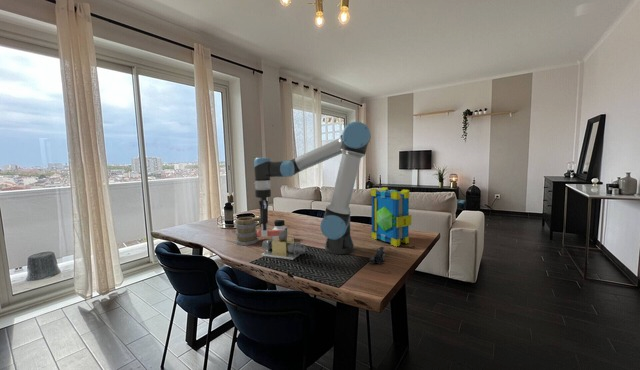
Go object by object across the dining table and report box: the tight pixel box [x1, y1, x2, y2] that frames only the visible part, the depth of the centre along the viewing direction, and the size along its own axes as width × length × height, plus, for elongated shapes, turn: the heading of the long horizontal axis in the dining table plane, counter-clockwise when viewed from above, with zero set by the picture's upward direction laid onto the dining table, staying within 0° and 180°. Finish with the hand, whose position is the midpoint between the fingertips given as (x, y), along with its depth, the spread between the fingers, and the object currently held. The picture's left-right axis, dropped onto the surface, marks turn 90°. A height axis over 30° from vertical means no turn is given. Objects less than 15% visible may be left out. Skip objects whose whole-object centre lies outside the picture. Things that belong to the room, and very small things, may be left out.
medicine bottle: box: [271, 218, 288, 240], centre depth 163 cm, size 7×7×12 cm
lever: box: [256, 229, 288, 240], centre depth 137 cm, size 15×4×4 cm, turn 89°
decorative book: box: [370, 186, 412, 248], centre depth 153 cm, size 14×23×30 cm, turn 30°
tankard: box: [234, 216, 262, 246], centre depth 161 cm, size 20×13×15 cm, turn 119°
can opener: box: [369, 246, 386, 265], centre depth 127 cm, size 18×7×6 cm, turn 156°
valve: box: [260, 237, 307, 261], centre depth 138 cm, size 23×13×7 cm, turn 67°
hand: (264, 236), depth 135 cm, fingers closed
